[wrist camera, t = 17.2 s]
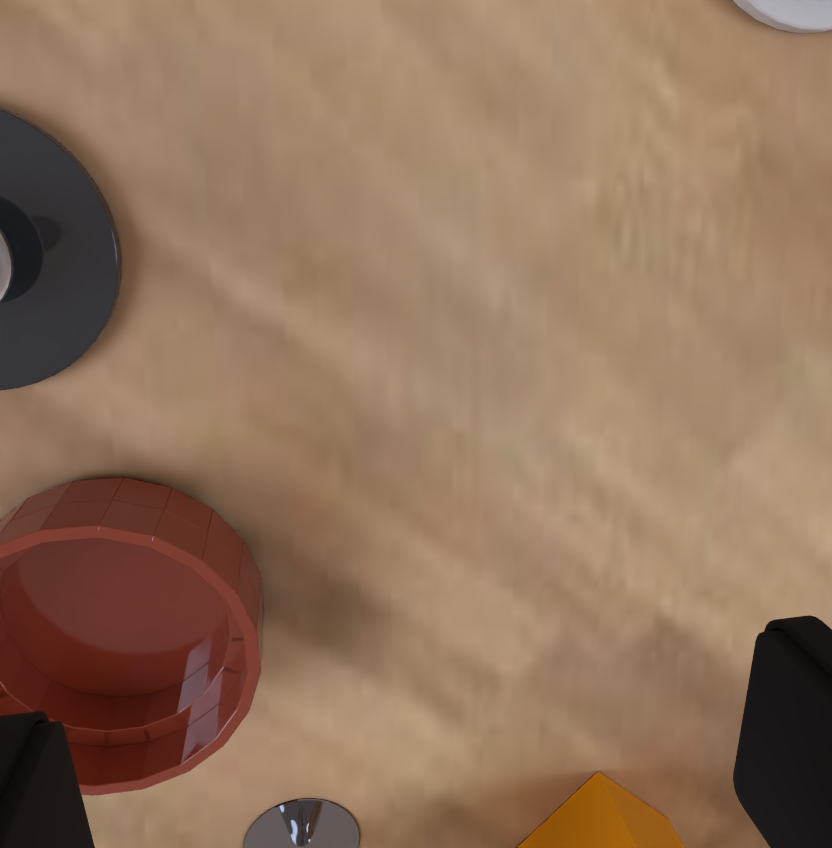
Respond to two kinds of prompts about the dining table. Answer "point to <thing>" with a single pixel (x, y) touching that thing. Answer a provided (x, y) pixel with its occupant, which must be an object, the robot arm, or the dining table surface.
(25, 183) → the disc
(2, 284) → the screw
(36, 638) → the bowl
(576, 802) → the orange juice
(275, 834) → the wine glass
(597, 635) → the dining table surface
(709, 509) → the dining table surface
